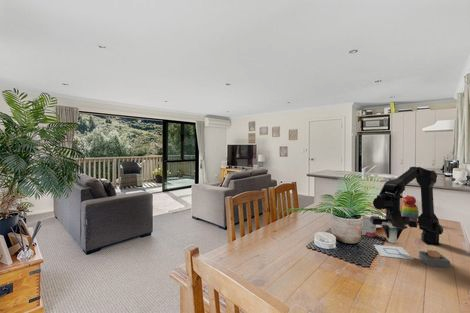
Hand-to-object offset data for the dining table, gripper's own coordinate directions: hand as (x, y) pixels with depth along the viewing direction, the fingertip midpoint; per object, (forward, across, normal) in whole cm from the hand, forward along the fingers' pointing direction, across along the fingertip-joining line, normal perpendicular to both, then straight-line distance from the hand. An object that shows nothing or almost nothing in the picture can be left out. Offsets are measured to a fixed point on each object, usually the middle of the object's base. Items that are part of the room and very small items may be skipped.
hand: (392, 238), depth 115 cm
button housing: (+7, +14, -7) cm, 17 cm away
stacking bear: (+7, +29, +57) cm, 64 cm away
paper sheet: (+7, 0, 0) cm, 7 cm away
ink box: (+7, -6, +22) cm, 24 cm away
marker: (+2, 0, 0) cm, 2 cm away
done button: (+5, +14, -7) cm, 16 cm away
